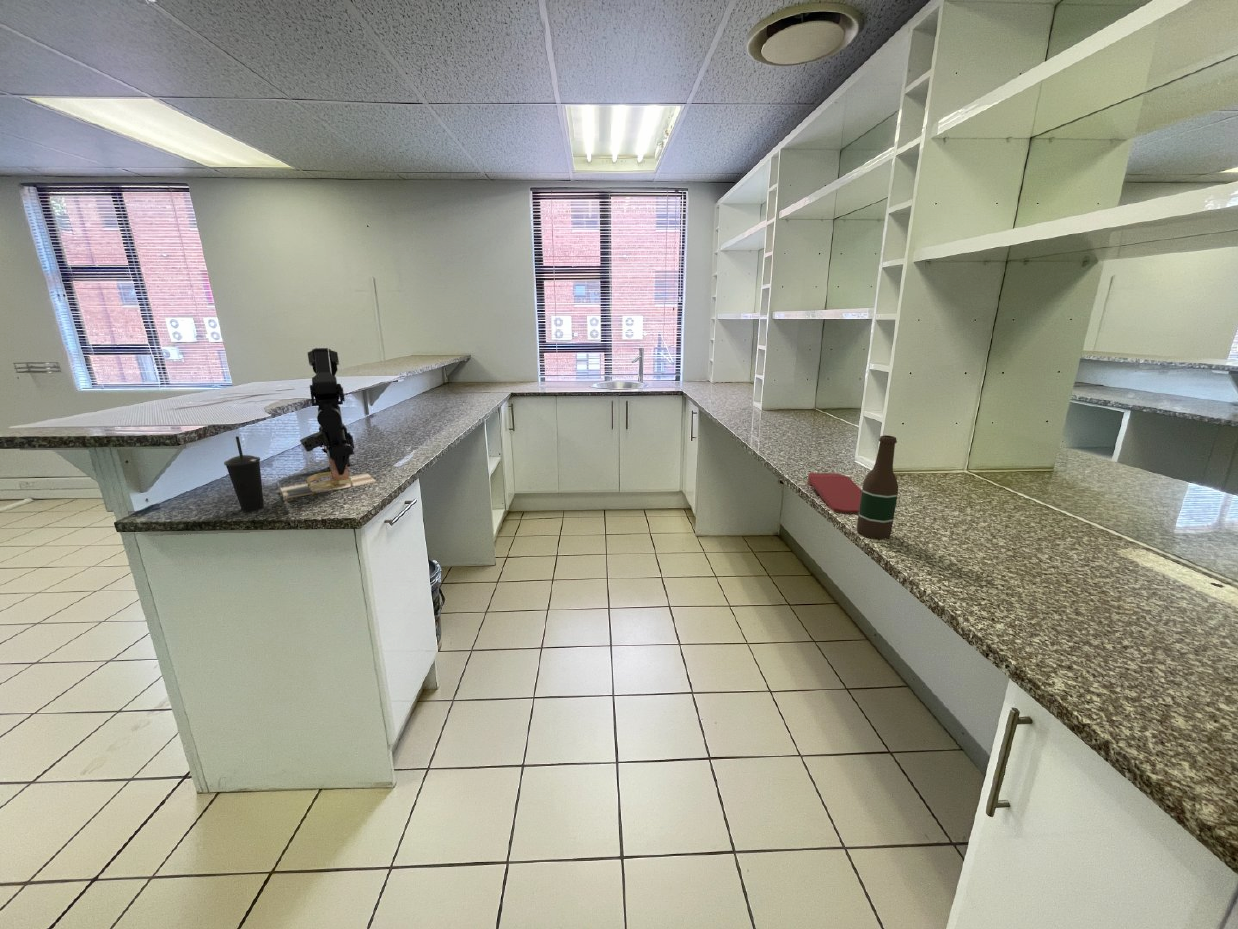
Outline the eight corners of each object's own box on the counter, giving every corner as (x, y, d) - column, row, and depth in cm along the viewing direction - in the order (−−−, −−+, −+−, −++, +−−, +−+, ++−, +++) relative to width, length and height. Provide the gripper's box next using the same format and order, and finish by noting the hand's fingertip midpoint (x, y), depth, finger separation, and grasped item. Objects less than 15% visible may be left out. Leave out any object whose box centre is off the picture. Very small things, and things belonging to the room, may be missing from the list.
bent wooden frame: (306, 483, 148) (304, 475, 147) (345, 477, 154) (343, 469, 154) (312, 493, 139) (311, 485, 138) (353, 486, 145) (352, 478, 145)
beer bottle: (897, 540, 112) (915, 440, 105) (863, 540, 112) (879, 440, 106) (881, 527, 119) (897, 433, 113) (849, 526, 120) (863, 432, 113)
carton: (877, 526, 130) (839, 484, 153) (881, 510, 128) (842, 470, 151) (832, 526, 130) (801, 484, 153) (836, 510, 128) (803, 470, 151)
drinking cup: (241, 505, 132) (225, 434, 127) (273, 502, 135) (259, 432, 129) (230, 515, 125) (212, 440, 120) (265, 511, 128) (249, 438, 122)
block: (332, 479, 148) (328, 457, 146) (346, 476, 150) (343, 455, 148) (334, 482, 145) (330, 459, 143) (349, 479, 147) (345, 457, 145)
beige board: (280, 491, 144) (279, 487, 144) (368, 476, 159) (367, 472, 158) (285, 502, 135) (284, 497, 135) (377, 485, 150) (377, 481, 149)
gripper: (294, 421, 144) (303, 471, 149) (304, 431, 131) (314, 486, 135) (336, 417, 151) (344, 464, 156) (350, 426, 138) (358, 478, 142)
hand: (339, 473), depth 147 cm, fingers closed on block, 4 cm apart
